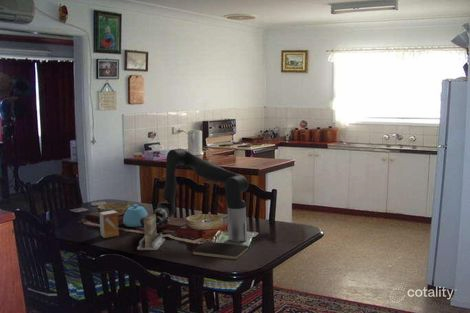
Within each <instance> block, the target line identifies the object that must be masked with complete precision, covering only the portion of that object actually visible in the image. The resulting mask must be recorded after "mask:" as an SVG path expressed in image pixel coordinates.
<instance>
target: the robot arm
mask: <svg viewBox="0 0 470 313" xmlns="http://www.w3.org/2000/svg"><path fill="white" fill-rule="evenodd" d="M165 161H166V164H165V182H164V187H163V191H162V198H163V199H164V200H166V201H162V200H161V201H159V202H158V204H157V206H156V209H155V210H154V211H153V212H152V213H156V226H158V227H162V226H164V225H168V224H169V223H170V218H169V217H172V216H174V215H175V213H176V195H177V189H178V182H177V180H176V169H177V167H178V166H186V167H189V168H190V169H192V170H193V171H194V172H195V174H196V175H197V176H198V177H200V178H202V179H203V180H206V181H209V182H213V183H220V184H224V191H225V193H224V194H225V202H226V204H227V226H228V228H227V230H228V231H227V232H228V240H229V241H230V240H231V241H230V242H233V241H234V242H235V243H240V241H241V242H246V241H247V236H248V233H247V232H248V231H247V229H248V228H247V216H246V215H247V208H246V206H247V205H246V201H245V200H244V199H241V194H242V193H245V192H246V191H247V190H248V189H249V184H250V183H249V181H248V179H247V178H246V176H244V175H242V174H239V173H235V172H232V171H229V170H227V169H224V168H223V167H221V166H219V165H216V164H214V163H213V162H210V161H208V160H206V159H203V158H201V157H199V156H197V155H194V154H193V153H192V152H189V151H188V150H186V149H185V148H173V149H170V150H169V151H168V152H167V155H166V160H165ZM144 218H145V217H143V218H142V219H141V220H140V224H141V225H142V226H141V227H143V228H144ZM234 242H233V243H234Z"/></svg>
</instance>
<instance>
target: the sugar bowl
mask: <svg viewBox="0 0 470 313" xmlns="http://www.w3.org/2000/svg"><path fill="white" fill-rule="evenodd" d="M148 214H149V213H148V212H147V210H146V209H145V207H144V206H139V204H133V205H132V206H130V207H128V208H127V209H126V211H125V213H124V214H123V216H122V218H123V219H122V223H123V224H124V225H125V226H126V227H129V228H139V227H143V226H142V225H141V224H140V220H141V219H142V218H143V217H146V216H147V215H148Z"/></svg>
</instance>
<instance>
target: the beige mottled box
mask: <svg viewBox="0 0 470 313" xmlns="http://www.w3.org/2000/svg"><path fill="white" fill-rule="evenodd" d="M143 228H144V236H145V246H152V242H153V241H154V239H155V238H156V237H157V236H158V232H157V225H156V213H153V212H152V213H148V215H147V216H146V217H145V218H144V227H143Z"/></svg>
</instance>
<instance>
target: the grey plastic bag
mask: <svg viewBox="0 0 470 313" xmlns="http://www.w3.org/2000/svg"><path fill="white" fill-rule="evenodd" d="M165 240H166V239H165V237H163V233H162V232H159V233H158V234H157V237H156V238H155V239H154V241H153V242H152V246H145V235H144V236H143V237H142V238H141V239H140V240H139V244H138V246H137V247H136V249H137V250H138V251H157V250H158V249H159V248H160V247H161V246H162V245H163V243H164V242H165Z"/></svg>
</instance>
